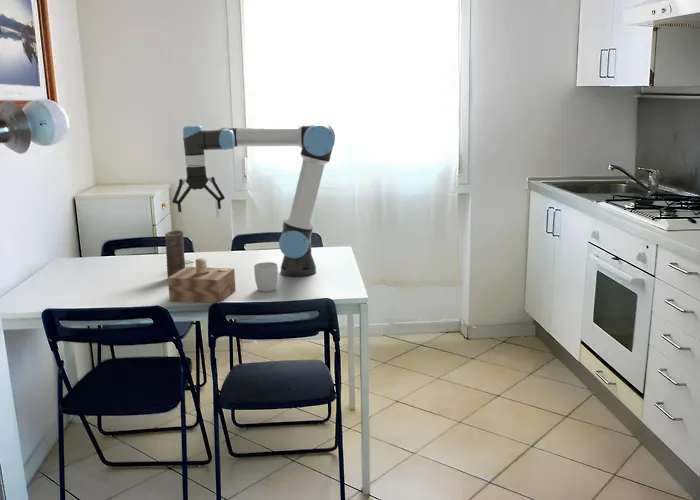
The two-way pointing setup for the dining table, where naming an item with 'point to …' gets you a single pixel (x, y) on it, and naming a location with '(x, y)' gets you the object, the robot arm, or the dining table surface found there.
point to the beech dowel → (201, 266)
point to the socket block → (202, 285)
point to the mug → (266, 276)
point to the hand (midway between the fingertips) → (200, 218)
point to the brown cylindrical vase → (174, 252)
